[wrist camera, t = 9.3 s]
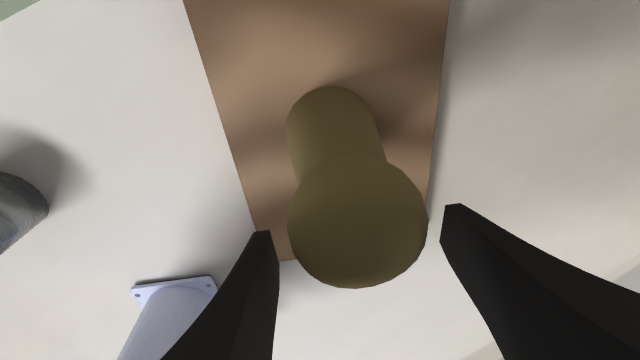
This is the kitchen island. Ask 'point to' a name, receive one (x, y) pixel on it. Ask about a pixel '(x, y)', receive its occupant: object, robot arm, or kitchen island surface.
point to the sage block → (13, 7)
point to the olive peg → (349, 194)
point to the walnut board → (318, 82)
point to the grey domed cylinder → (18, 209)
